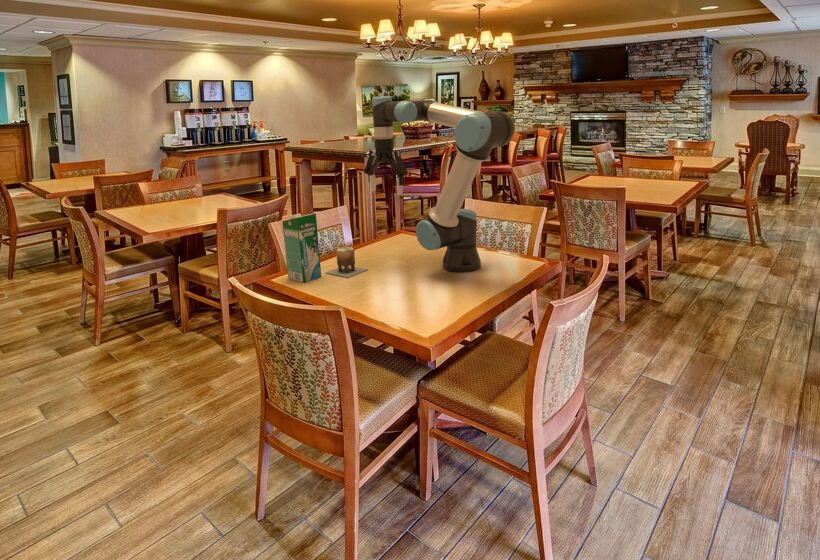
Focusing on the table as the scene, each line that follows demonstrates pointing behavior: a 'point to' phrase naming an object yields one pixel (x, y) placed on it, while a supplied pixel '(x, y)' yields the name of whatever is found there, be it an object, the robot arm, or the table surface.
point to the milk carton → (302, 247)
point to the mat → (346, 275)
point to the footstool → (345, 258)
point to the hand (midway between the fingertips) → (386, 192)
